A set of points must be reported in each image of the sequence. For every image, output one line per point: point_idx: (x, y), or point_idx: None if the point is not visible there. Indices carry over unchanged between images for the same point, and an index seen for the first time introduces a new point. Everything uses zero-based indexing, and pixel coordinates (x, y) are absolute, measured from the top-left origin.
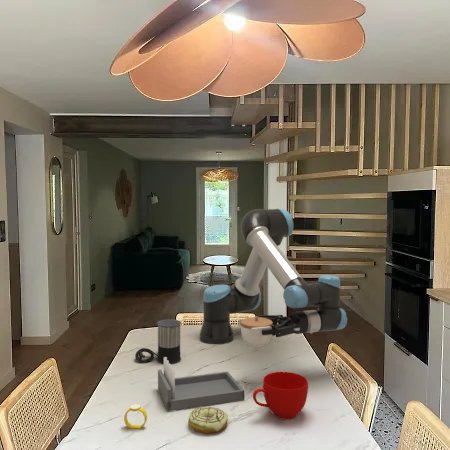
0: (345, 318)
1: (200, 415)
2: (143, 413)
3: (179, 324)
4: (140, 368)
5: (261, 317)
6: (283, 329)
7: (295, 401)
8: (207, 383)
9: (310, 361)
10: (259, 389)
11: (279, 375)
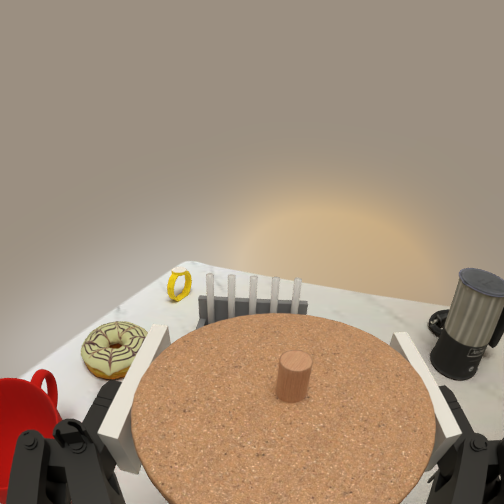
0: None
1: (115, 328)
2: (168, 281)
3: (483, 293)
4: (404, 324)
5: (468, 476)
6: (13, 490)
7: None
8: None
9: None
10: (35, 373)
11: None
